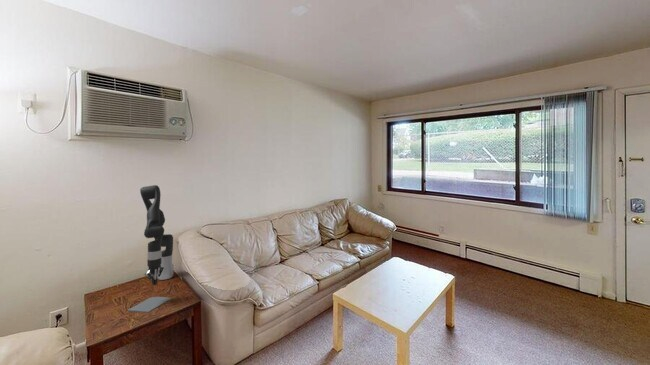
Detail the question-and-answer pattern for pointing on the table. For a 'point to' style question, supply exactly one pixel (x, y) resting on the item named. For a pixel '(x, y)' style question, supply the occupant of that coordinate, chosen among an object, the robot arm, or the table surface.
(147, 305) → the mat
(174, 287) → the table surface
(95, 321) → the table surface
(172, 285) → the table surface
